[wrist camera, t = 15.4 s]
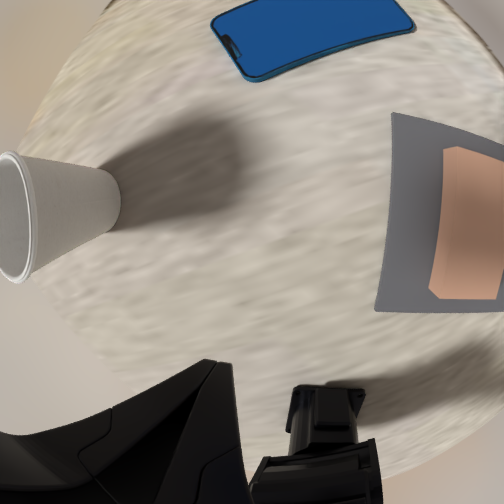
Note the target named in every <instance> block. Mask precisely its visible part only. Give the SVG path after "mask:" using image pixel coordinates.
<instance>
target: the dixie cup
mask: <svg viewBox="0 0 504 504" xmlns="http://www.w3.org/2000/svg"><path fill="white" fill-rule="evenodd" d="M120 208H121V196H120V190H119V187H118V184H117V182H116V180H115V179H114V177H113V176H112V175H111V174H110V173H109V172H107V171H105V170H101V169H96V168H91V167H86V166H80V165H75V164H70V163H64V162H58V161H52V160H46V159H40V158H34V157H27V156H20V155H19V154H18V153H16V152H14V151H6V152H4V153H3V154H1V155H0V271H1V272H2V274H3V275H4V276H5V277H6V278H7V279H8V280H10V281H11V282H13V283H17V284H18V283H23V282H25V281H26V280H27V279H28V278H29V277H30V275H31V274H32V273H33V272H35V271H36V270H38V269H40V268H41V267H43V266H45V265H46V264H48V263H50V262H52V261H53V260H55V259H57V258H59V257H60V256H62V255H64V254H66V253H67V252H69V251H71V250H73V249H75V248H77V247H78V246H80V245H82V244H84V243H86V242H88V241H90V240H92V239H94V238H96V237H98V236H99V235H101V234H103V233H105V232H107V231H109V230H110V229H111V228H112V227H113V226H114V224H115V223H116V221H117V219H118V216H119V213H120Z"/></svg>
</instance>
